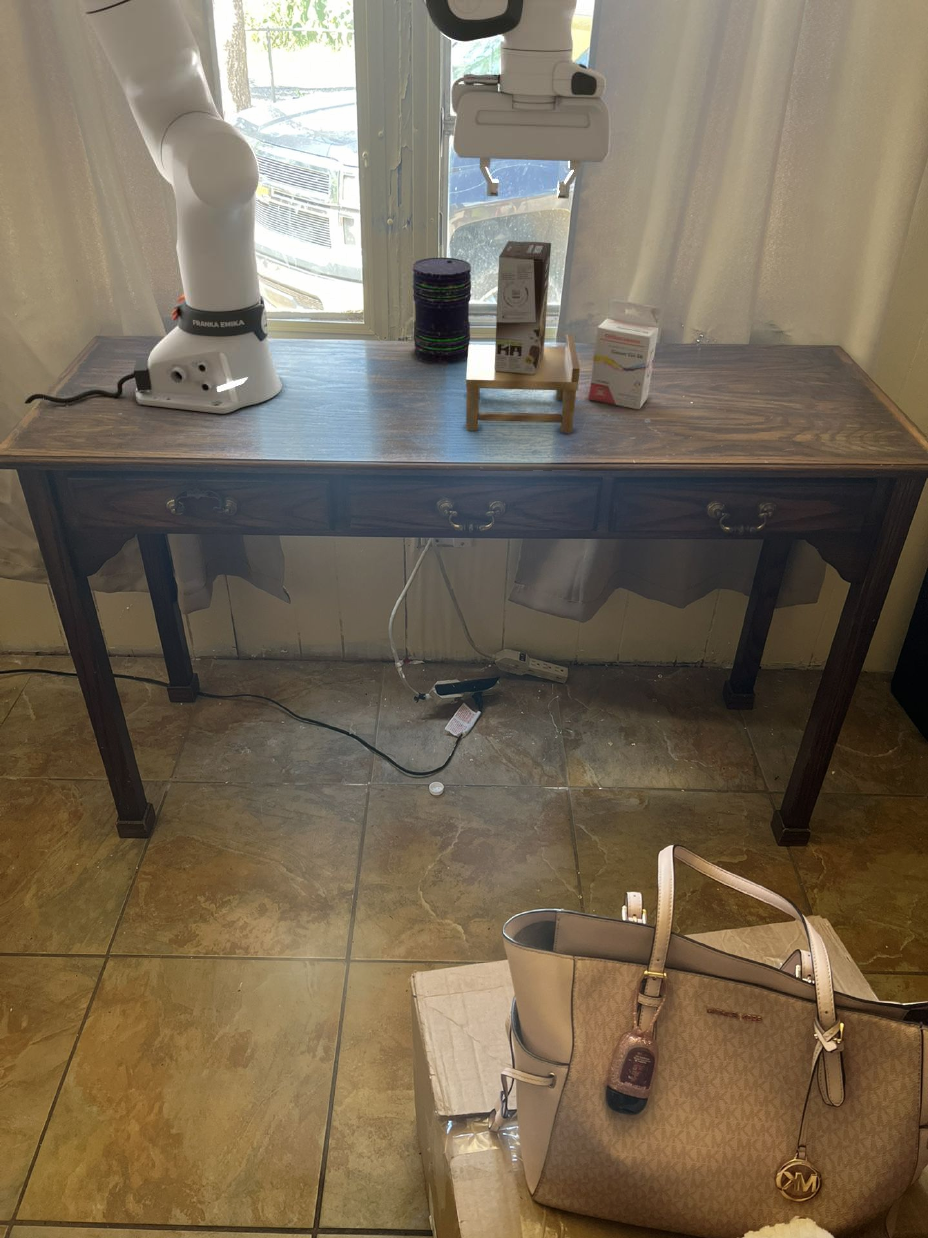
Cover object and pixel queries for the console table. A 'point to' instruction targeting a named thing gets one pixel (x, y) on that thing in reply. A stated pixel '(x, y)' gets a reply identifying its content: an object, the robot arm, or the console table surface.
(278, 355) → the console table surface
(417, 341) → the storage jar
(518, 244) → the coffee box
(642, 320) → the ink cartridge box
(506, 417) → the miniature wooden bench
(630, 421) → the console table surface
